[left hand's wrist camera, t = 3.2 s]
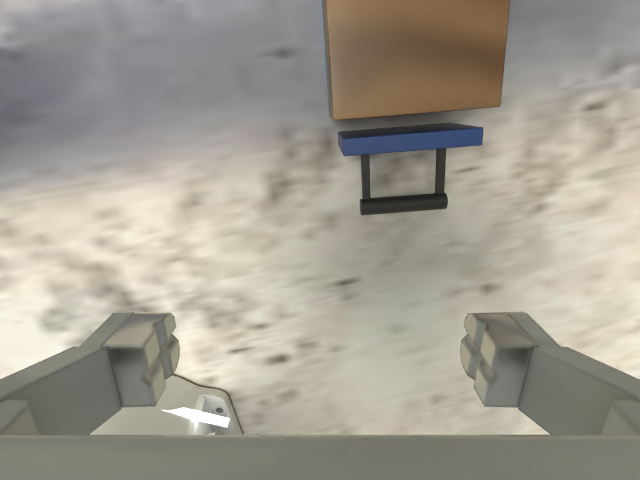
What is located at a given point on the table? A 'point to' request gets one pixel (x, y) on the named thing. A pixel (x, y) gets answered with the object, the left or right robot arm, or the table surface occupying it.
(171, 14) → the table surface
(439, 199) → the drawer
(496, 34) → the cabinet
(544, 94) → the table surface
